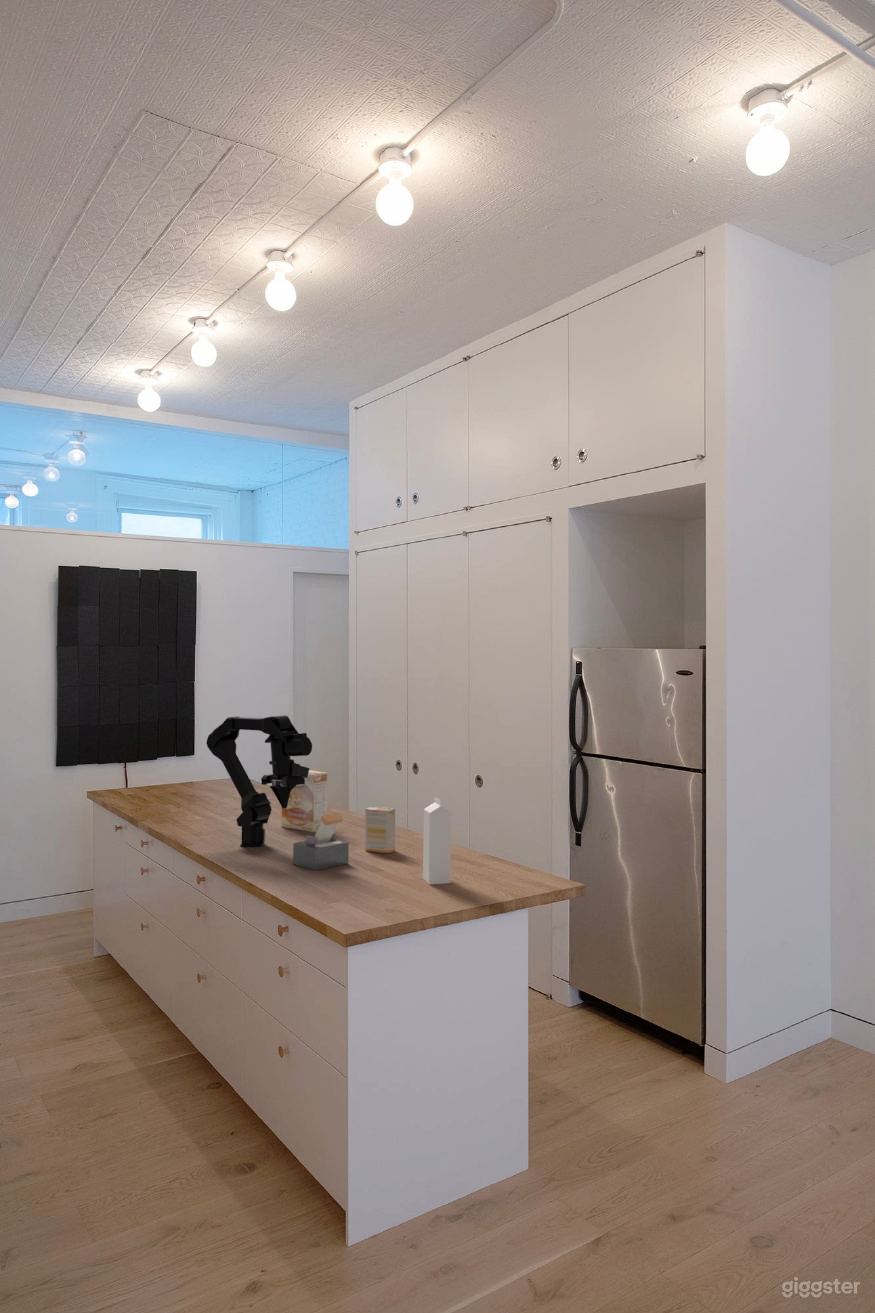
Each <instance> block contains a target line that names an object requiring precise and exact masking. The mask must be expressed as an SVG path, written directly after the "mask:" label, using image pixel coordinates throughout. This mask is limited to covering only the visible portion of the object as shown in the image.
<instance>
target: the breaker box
mask: <svg viewBox="0 0 875 1313" xmlns="http://www.w3.org/2000/svg"><path fill="white" fill-rule="evenodd" d="M349 844H350V842H348V841H344V840H340V839H337V833H336V832H334V833H333V835H332V837H331V839H330V841H326V842H320V843H315V837H314V835H313V836H312V835H306V836H305V840H303V841H299V842H293V847H292V849H293V851H292V852H293V854H292V855H293V856H292V860H293V861H292V864H293V865H294V864H296V865H295V866H297V865H298V866H299V867H301V866H302V868H304V867H305V868H306V869H308V868H309V869H308V870H311V869H312V871H314V870H316V871H320V870H324V868H325V869H330V868H334V867H333V866H335V867H338V866H344V865H348V864H349V848H350V847H349V846H350V845H349ZM343 864H344V865H343ZM298 866H297V867H298ZM305 868H304V869H305Z"/></svg>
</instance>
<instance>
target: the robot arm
mask: <svg viewBox="0 0 875 1313" xmlns="http://www.w3.org/2000/svg"><path fill="white" fill-rule="evenodd" d="M241 730H243V731H259V732H262V733H263V734H266V735H268V737H267V738H266V739H265V740H264V743H265V744H270V754H271V756H270V757H271V760H269V763H268V764H269V765H271V767H272V774H263V776H262V777H261V779H260V780H261V785H266V786H267V785H268V784H269V785H270V784H271V785H270V786H269V788H270V789H271V791H272V793H274V796H275V797H276V799H277V800H278V802H279V805H280V806H281V809H282V808H287V805H288V800H289V796H290V792H291V790H292V789H293V788H294V787H295V786H296V785H301V784H305V778H307V777H308V773H309V770H311V769H310V768H309V767H306V766H302V765H300V763H297V762H295V760H294V759H291V757H302V756H303V757H304V756H305V757H306V756H309V755H310V754H311V753H312V749H313V743H312V741H311V739H310V737H308V734H307V733H306V732H303V733H302V732H301V733H299V732H298V730H297V729H296V727H295V725H293V723H292V721H291V719H290V717H289V716H288V715H285V714H284V715H276V716H267V717H245V716H243V717H241V716H230V717H229V716H228V717H227V718H225V720H224V721H223V722H222V723H221V724H220V725H218V726H217V727H216V728H215V729H213V731H212V732H211V733H210V734H209V735H208V736H207V739H206V746H207V748H208V750H209V751H210V753H211V754H212V755H213V756H215V757H216V758H217V759H219V760H220V761H221V762H222V764H223V766H224V767H225V770H226V772H227V774H228V775H229V777H230V780H231V781H232V783H233V785H234V787H235V788H236V791H237V793H238V794H239V797H240V799H241V800H240V801H241V803H240V804H241V805H240V809H241V811H242V813H240V814H239V816H238V817H237V818H236V824H237V827H240V828H241V843H240V847H262V846H263V845H264V843H265V842H266V828H264V824H268V821H269V819H270V816H271V813H272V806H271V804H272V802H271V801H270V800H269V799H268V796H267V794H266V793H265V792H261V793H259V792H258V791H257V790H256V788H255V786H254V785H253V783H252V781H251V779H250V777H249V775H248V773H247V771H246V770H245V768H244V765H243V764H242V763H241V760H240V758H239V756H238V754H237V742H236V740H237V739H238V737H239V735H240V731H241Z"/></svg>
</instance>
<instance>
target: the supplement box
mask: <svg viewBox="0 0 875 1313" xmlns="http://www.w3.org/2000/svg"><path fill="white" fill-rule="evenodd" d="M364 810H365V811H364V813H365V817H364V818H365V819H364V820H365V828H364V830H365V833H364V834H365V835H364V837H365V839H364V841H365V846H364V848H365V849H364V851H365V852H371V853H379V854H381V853H382V854H391V853H393V852H395V851H396V808H393V807H385V806H383V807H382V806H370V807H367V808H365V809H364Z"/></svg>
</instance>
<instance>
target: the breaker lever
mask: <svg viewBox="0 0 875 1313" xmlns="http://www.w3.org/2000/svg"><path fill="white" fill-rule="evenodd" d="M343 820H344V817H343V816H342V814H340V812H338V813H337V812H336V813H331V814H327V815H323V816H322V817H321V821H322V822H321V824H320V826H319V828H318V830H317V831H316V832H315V834H314V835H313V837H315V843H320V842H326V841H330V839H331V837H332V835H333V833H335V832H336V829H337V827H338V826H339V824H341V823H342V822H343Z"/></svg>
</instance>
